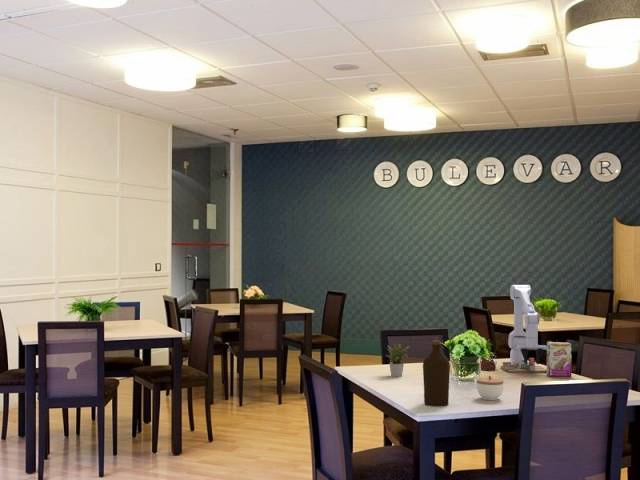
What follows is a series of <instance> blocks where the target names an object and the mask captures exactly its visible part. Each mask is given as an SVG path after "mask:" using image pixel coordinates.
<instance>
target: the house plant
mask: <svg viewBox="0 0 640 480" xmlns="http://www.w3.org/2000/svg"><path fill="white" fill-rule="evenodd" d="M386 346H387V347H388V348H386V347H385V349H387V351H388V352H389V354H390V355H388V354H386V355H384V356H385V357H388V358H389V359H390V360H391V361H390V362H389V370H390V376H391V377H395V378H399V377H403V372H404V365H405V363H404V362H402V360H403V359H404V358H407V353H406V354H404V352H408V349H409V348H411V346H406V347H405V348H403V349H402V350H401V348H402V347H401V346H402V345H401V343H399V344H398V347H397V345H396V343H395V342H394V347H390V345H386Z"/></svg>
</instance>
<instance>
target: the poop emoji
mask: <svg viewBox="0 0 640 480" xmlns="http://www.w3.org/2000/svg"><path fill="white" fill-rule="evenodd" d="M481 360H482V361H481ZM481 360H480V363H481V369H480V370H482V371H485V372H486V371H489V372H493V371H495V370H496V369H497V366H496V365H497V363H498V362H497V360H496V359H494V358H493V357H492V360H491V361H489V360H486V359H482V358H481Z"/></svg>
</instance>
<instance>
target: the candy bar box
mask: <svg viewBox="0 0 640 480" xmlns="http://www.w3.org/2000/svg"><path fill="white" fill-rule="evenodd" d="M546 346H547V350H546V369H547V373H546V375H547V376H548V377H563V378H565V377H567V378H571V377H572V365H573V364H572V362H573V361H572V356H573V355H572V354H573V353H572V351H573V349H572V348H573V345H572V343H570V342H560V341H559V342H557V341H556V342H555V341H554V342H553V341H547V342H546Z"/></svg>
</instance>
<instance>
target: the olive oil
mask: <svg viewBox="0 0 640 480" xmlns="http://www.w3.org/2000/svg"><path fill="white" fill-rule="evenodd" d="M441 347H442V344H441V340H437V339H433V340H432V344H431V348H432V349H431V351H430V352H429V353H428V354H427V355H426V356H425V358H424V359H423V363H422V375H423V376H422V377H423V402H424V405H426V406H429V407H447V406H448V405H449V399H450V398H449V395H450V392H449V391H450V390H449V389H450V377H451V363H450V359H449V358H448V357H447V356H446V355H445V353H444V352H443V351H442V349H441Z"/></svg>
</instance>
